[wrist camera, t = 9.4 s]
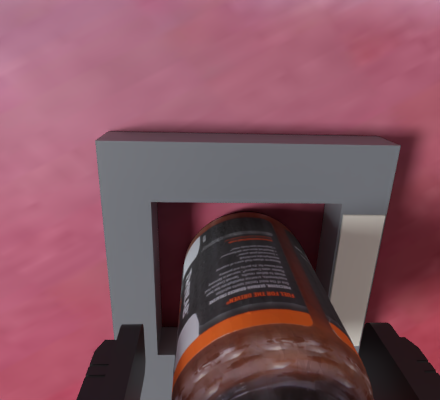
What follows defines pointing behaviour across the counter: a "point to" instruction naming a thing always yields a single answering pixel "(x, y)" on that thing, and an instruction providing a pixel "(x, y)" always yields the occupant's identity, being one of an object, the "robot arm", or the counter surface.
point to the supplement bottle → (259, 320)
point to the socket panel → (239, 193)
